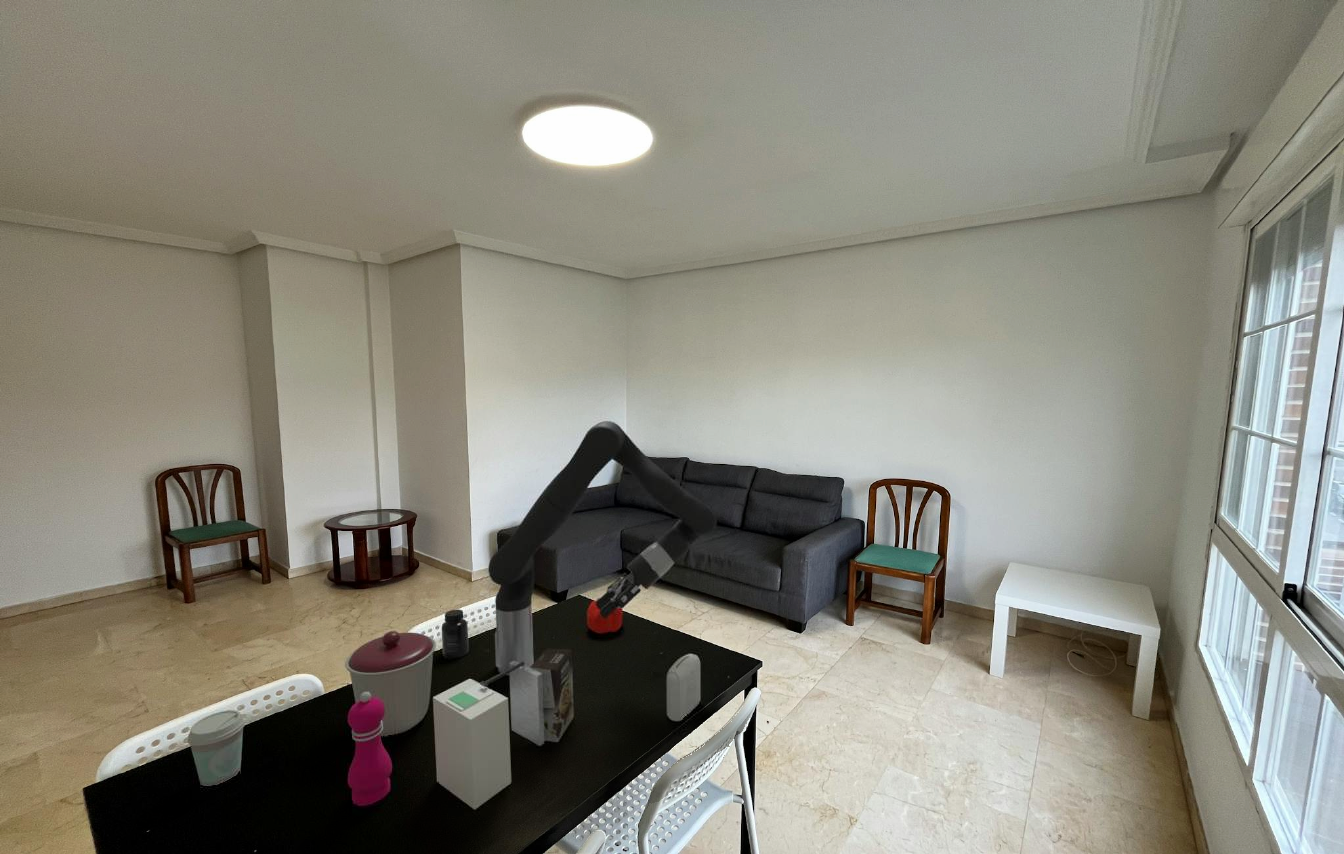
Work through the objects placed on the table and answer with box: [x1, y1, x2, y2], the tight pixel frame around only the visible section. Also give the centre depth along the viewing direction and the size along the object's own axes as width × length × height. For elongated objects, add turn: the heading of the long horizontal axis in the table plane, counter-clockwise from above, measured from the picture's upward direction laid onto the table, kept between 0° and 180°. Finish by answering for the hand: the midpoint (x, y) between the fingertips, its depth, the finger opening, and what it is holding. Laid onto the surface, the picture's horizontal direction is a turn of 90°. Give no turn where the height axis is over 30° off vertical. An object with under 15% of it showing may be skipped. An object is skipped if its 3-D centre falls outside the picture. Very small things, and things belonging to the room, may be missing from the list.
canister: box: [344, 630, 437, 737], centre depth 123 cm, size 18×18×21 cm
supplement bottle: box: [441, 608, 470, 660], centre depth 154 cm, size 7×7×12 cm
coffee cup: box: [187, 709, 246, 786], centre depth 106 cm, size 8×8×12 cm
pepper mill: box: [347, 692, 393, 807], centre depth 101 cm, size 7×7×20 cm
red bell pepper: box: [586, 597, 624, 634], centre depth 168 cm, size 11×12×9 cm
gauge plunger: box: [479, 661, 545, 747], centre depth 111 cm, size 9×11×16 cm
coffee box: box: [530, 648, 575, 743], centre depth 121 cm, size 9×6×16 cm
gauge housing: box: [432, 678, 512, 810], centre depth 104 cm, size 12×8×17 cm, turn 54°
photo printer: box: [666, 653, 701, 722], centre depth 127 cm, size 10×4×12 cm, turn 147°
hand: (599, 610), depth 130 cm, fingers open, 8 cm apart
